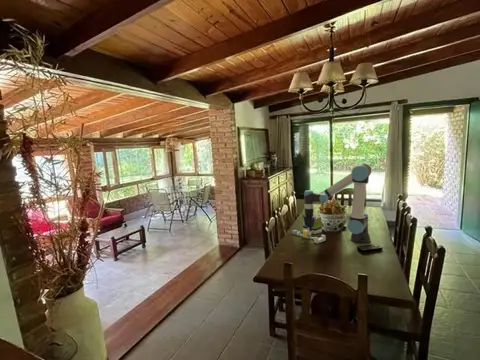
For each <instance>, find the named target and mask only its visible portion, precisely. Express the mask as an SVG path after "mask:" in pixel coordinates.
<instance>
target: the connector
mask: <svg viewBox="0 0 480 360" xmlns="http://www.w3.org/2000/svg"><path fill="white" fill-rule="evenodd" d="M297 232H299V230H298V229H293V230H291V234H292V235H294V236H295V235H296V233H297ZM296 236H297V235H296Z"/></svg>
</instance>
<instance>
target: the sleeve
mask: <svg viewBox="0 0 480 360" xmlns="http://www.w3.org/2000/svg"><path fill="white" fill-rule="evenodd" d="M302 234H303V237H302V238H304V239H309V238H308V236H311V237H312V234H311V235H308V231H307V229H306V230H303V229H302Z"/></svg>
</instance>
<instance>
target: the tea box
mask: <svg viewBox="0 0 480 360" xmlns="http://www.w3.org/2000/svg"><path fill="white" fill-rule="evenodd" d="M314 217H316V219H315V222H314V227H312V231H311V235H312V234H314V235H317V233H318V234H320V233H322V232H323V229H322V224H323V223H322V219H323V218H322V216H318V215H314ZM306 229H307V226H305V222H304V217H303V215H302V231H303V230H306Z"/></svg>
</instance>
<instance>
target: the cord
mask: <svg viewBox="0 0 480 360" xmlns="http://www.w3.org/2000/svg"><path fill="white" fill-rule="evenodd" d="M296 236H300V237H302V238H304V237H303V233H299V235H297V233H296ZM314 237H315V236H312V235H311V236H308V238H307V239H309V238H310V239H309V240H312V239H313V240H312V241H314ZM322 242H324V241H323V240H321V242H320V243H322Z"/></svg>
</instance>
